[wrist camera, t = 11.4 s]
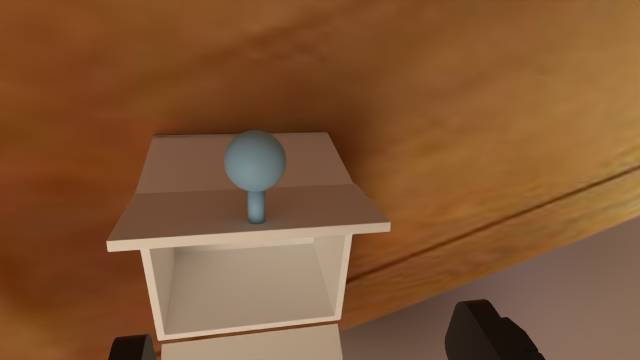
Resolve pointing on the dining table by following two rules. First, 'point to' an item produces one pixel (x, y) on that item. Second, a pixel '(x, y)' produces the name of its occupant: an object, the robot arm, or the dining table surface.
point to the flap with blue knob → (246, 206)
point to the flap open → (262, 346)
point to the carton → (242, 246)
